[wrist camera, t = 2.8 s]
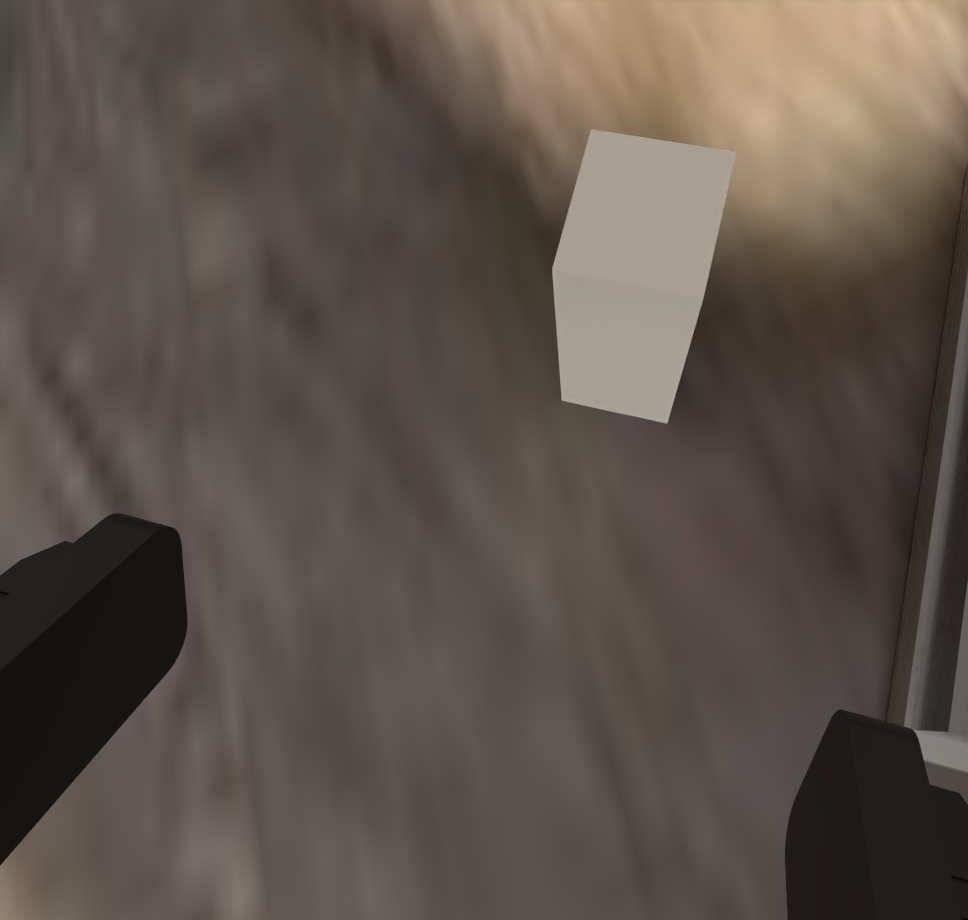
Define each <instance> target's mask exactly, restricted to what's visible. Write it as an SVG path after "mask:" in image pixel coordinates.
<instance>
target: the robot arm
mask: <svg viewBox="0 0 968 920" xmlns="http://www.w3.org/2000/svg"><path fill="white" fill-rule="evenodd" d="M186 631H187V609H186V596H185V583H184V571H183V558H182V546H181V539H180V536H179V534H178V532H177V531H176V530H175V529H174V528H172V527H169V526H165V525H162V524H158V523H154V522H150V521H147V520H143V519H139V518H136V517H132V516H128V515H124V514H120V513H116V514H112V515H109V516H107V517H106V518H104V519H103V520H102V521H100V522H99V523H98V524H97V525H95V526H94V527H93V528H92V529H90V530H89V531H88V532H87V533H85V534H84V535H83V536H82V537H80V538H79V539H78V540H77V541H75V542H74V543H70V542H67V541H64V542H62V543H59V544H57V545H55V546H52V547H50V548H48V549H45V550H43V551H41V552H38V553H36V554H34V555H31V556H29V557H27V558H24V559H22V560H20V561H19V562H17V563H16V564H15V565H13V566H12V567H11V568H10V569H8V570H7V571H6V572H4V573H3V574H2V575H0V865H1V864H2V863H3V862H4V860H5V859H6V858H7V857H8V856H9V855H10V853H11V852H12V851H13V850H14V849H15V848H16V847H17V845H18V844H19V843H20V842H21V841H22V840H23V838H24V837H25V836H26V835H27V834H28V833H29V832H30V830H31V829H32V828H33V827H34V826H35V825H36V823H37V822H38V821H39V820H40V819H41V818H42V817H43V815H44V814H45V813H46V812H47V811H48V810H49V808H50V807H51V806H52V805H53V804H54V803H55V802H56V800H57V799H58V798H59V797H60V796H61V795H62V793H63V792H64V791H65V790H66V789H67V788H68V787H69V785H70V784H71V783H72V782H73V781H74V780H75V778H76V777H77V776H78V775H79V774H80V773H81V772H82V770H83V769H84V768H85V767H86V766H87V765H88V764H89V762H90V761H91V760H92V759H93V758H94V757H95V755H96V754H97V753H98V752H99V751H100V750H101V749H102V747H103V746H104V745H105V744H106V743H107V742H108V740H109V739H110V738H111V737H112V736H113V735H114V734H115V732H116V731H117V730H118V729H119V728H120V727H121V725H122V724H123V723H124V722H125V721H126V720H127V719H128V717H129V716H130V715H131V714H132V713H133V712H134V710H135V709H136V708H137V707H138V706H139V705H140V704H141V702H142V701H143V700H144V699H145V698H146V697H147V695H148V694H149V693H150V692H151V691H152V690H153V689H154V687H155V686H156V685H157V684H158V683H159V682H160V680H161V679H162V678H163V677H164V676H165V675H166V674H167V672H168V671H169V670H170V669H171V667H172V666H173V664H174V663H175V661H176V659H177V658H178V656H179V653H180V651H181V649H182V646H183V643H184V640H185V636H186ZM785 869H786V890H787V912H788V920H968V805H967V803H966V802H965V800H964V799H963V798H962V796H961V795H960V793H957V792H954V791H950V790H946V789H943V788H939V787H936V786H932V785H929V780H928V776H927V772H926V768H925V764H924V759H923V755H922V751H921V747H920V743H919V739H918V737H917V735H916V733H915V732H914V730H913V729H911V728H908V727H904V726H900V725H897V724H893V723H889V722H886V721H882V720H878V719H874V718H871V717H867V716H863V715H860V714H856V713H852V712H848V711H845V710H838V711H836V712H835V714H834V715H833V716H832V718H831V720H830V722H829V724H828V726H827V728H826V731H825V733H824V735H823V737H822V740H821V742H820V744H819V746H818V748H817V751H816V753H815V755H814V757H813V760H812V762H811V764H810V766H809V769H808V771H807V773H806V775H805V778H804V780H803V782H802V784H801V787H800V789H799V791H798V793H797V795H796V798H795V800H794V803H793V806H792V809H791V813H790V817H789V822H788V828H787V834H786V844H785Z"/></svg>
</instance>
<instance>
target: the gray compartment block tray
mask: <svg viewBox="0 0 968 920" xmlns="http://www.w3.org/2000/svg"><path fill="white" fill-rule="evenodd" d="M886 722H889V723H893V724H897V725H900V726H904V727H908V728H911V729H913V730H914V732H915V733H916V735H917V737H918V739H919V743H920V747H921V751H922V755H923V759H924V763H927V764H930V765H934V766H938V767H941V768H945V769H949V770H952V771H956V772H960V773H963V774H967V775H968V167H967V171H966V178H965V185H964V191H963V198H962V205H961V212H960V219H959V226H958V232H957V239H956V246H955V253H954V260H953V267H952V274H951V280H950V287H949V294H948V301H947V308H946V315H945V321H944V328H943V335H942V342H941V349H940V356H939V363H938V369H937V376H936V383H935V390H934V397H933V404H932V410H931V417H930V424H929V431H928V438H927V445H926V452H925V458H924V465H923V472H922V479H921V486H920V493H919V499H918V506H917V513H916V520H915V527H914V534H913V541H912V547H911V554H910V561H909V568H908V575H907V582H906V588H905V595H904V602H903V609H902V616H901V623H900V630H899V636H898V643H897V650H896V657H895V664H894V671H893V677H892V684H891V691H890V698H889V705H888V712H887V719H886Z"/></svg>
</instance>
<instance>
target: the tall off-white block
mask: <svg viewBox="0 0 968 920" xmlns="http://www.w3.org/2000/svg"><path fill="white" fill-rule="evenodd" d="M735 156H736V152H734V151H728V150H722V149H715V148H709V147H702V146H696V145H690V144H683V143H677V142H670V141H664V140H658V139H651V138H645V137H638V136H632V135H626V134H619V133H613V132H606V131H600V130H594V129H591V131H590V135H589V139H588V142H587V146H586V149H585V153H584V157H583V160H582V164H581V167H580V171H579V175H578V178H577V182H576V185H575V189H574V192H573V196H572V200H571V203H570V207H569V210H568V214H567V218H566V221H565V225H564V228H563V232H562V236H561V239H560V243H559V246H558V250H557V254H556V257H555V261H554V264H553V268H552V274H553V288H554V301H555V315H556V329H557V342H558V356H559V370H560V383H561V397H562V401H566V402H570V403H575V404H580V405H584V406H589V407H593V408H598V409H603V410H607V411H612V412H616V413H621V414H626V415H630V416H635V417H640V418H644V419H649V420H653V421H658V422H663V423H668V419H669V416H670V412H671V409H672V405H673V402H674V398H675V395H676V391H677V388H678V384H679V381H680V377H681V374H682V371H683V367H684V364H685V360H686V357H687V353H688V350H689V346H690V343H691V339H692V336H693V332H694V329H695V325H696V322H697V319H698V315H699V312H700V308H701V305H702V301H703V298H704V293H705V289H706V284H707V280H708V276H709V271H710V267H711V262H712V258H713V253H714V249H715V245H716V240H717V236H718V231H719V227H720V223H721V218H722V214H723V209H724V205H725V200H726V196H727V192H728V187H729V183H730V178H731V174H732V169H733V165H734V161H735Z"/></svg>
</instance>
